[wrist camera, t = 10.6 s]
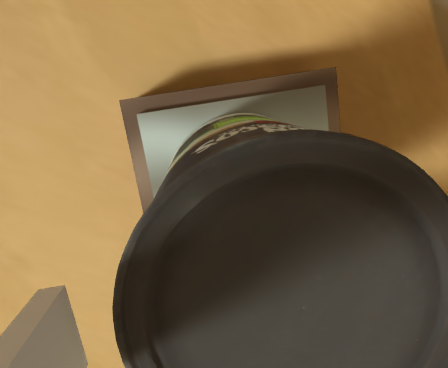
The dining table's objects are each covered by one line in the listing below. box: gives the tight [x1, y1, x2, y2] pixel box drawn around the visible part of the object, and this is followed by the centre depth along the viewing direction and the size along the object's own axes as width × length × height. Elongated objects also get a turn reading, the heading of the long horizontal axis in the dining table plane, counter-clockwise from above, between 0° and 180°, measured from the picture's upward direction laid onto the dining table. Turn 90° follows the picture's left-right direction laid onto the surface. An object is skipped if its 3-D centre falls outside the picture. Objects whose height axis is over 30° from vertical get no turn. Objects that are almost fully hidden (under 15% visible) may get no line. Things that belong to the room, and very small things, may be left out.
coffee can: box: [113, 113, 448, 368], centre depth 17 cm, size 10×10×14 cm
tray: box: [119, 67, 341, 213], centre depth 26 cm, size 14×14×5 cm
